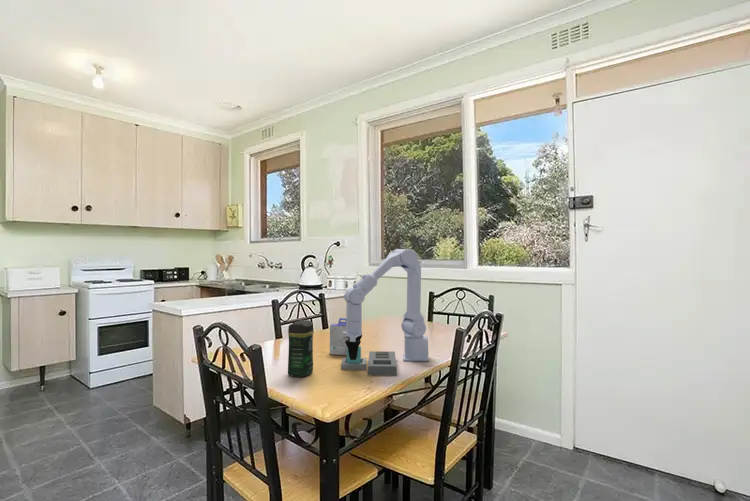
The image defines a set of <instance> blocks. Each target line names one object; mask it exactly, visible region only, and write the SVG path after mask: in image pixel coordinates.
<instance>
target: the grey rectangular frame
mask: <svg viewBox="0 0 750 501" xmlns="http://www.w3.org/2000/svg"><path fill="white" fill-rule="evenodd" d="M366 368H367V358H366V357H361V363H347V357H342V360H341V363H340V370H345V371H346V370H352V371H353V370H357V371H358V370H359V371H361V370H362V371H363V370H364V371H365V370H367V369H366Z"/></svg>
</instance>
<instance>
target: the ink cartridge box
mask: <svg viewBox="0 0 750 501" xmlns="http://www.w3.org/2000/svg"><path fill="white" fill-rule="evenodd" d="M343 332H346V317H345V318H344V317H342V318H341V317H339V319H338V322H337V323H332V324H330V325H329V355H335V356H336V355H338V356H341V355H342V356H347V345H346V343H345V340H349V339H348V337H347V335H346V334H343Z"/></svg>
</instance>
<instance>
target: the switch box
mask: <svg viewBox="0 0 750 501" xmlns="http://www.w3.org/2000/svg"><path fill="white" fill-rule="evenodd" d="M396 358H397V357H396V351H384V350H383V351H376V350H375V351H373V350H372V351H369V352H368V361H367V375H368V376H397V373H398V372H397V368H398V366H397V359H396Z"/></svg>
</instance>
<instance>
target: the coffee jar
mask: <svg viewBox="0 0 750 501" xmlns="http://www.w3.org/2000/svg"><path fill="white" fill-rule="evenodd" d="M287 329H288V330H287V332H288V333H287V335H288V355H287V356H288V359H287V360H288V361H287V374H288V376H290V377H293V378H300V377H307V376H309V375H310V374H311V373H312V372H313V371H314V355H313V354H314V353H313V352H314V351H313V350H314V349H313V348H314V347H313V346H314V344H313V343H314V340H313V339H314V323H313V322H312V321H311V320H309V319H299V320H298V321H295V322H293V323H291V324H289V325H288V328H287Z"/></svg>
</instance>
